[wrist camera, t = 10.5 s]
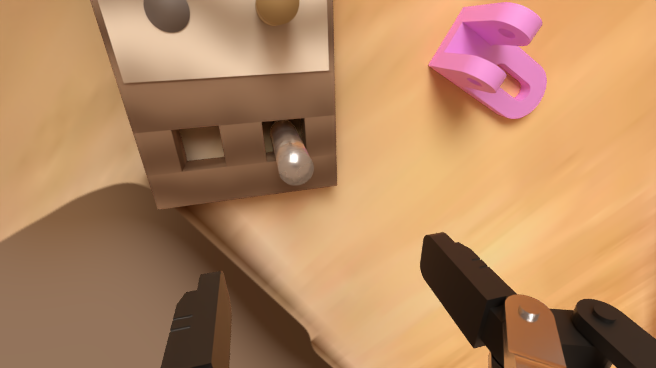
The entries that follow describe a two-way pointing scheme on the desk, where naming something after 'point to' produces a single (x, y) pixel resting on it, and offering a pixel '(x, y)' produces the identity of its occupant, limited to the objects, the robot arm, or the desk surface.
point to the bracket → (493, 56)
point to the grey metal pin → (290, 154)
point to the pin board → (223, 89)
